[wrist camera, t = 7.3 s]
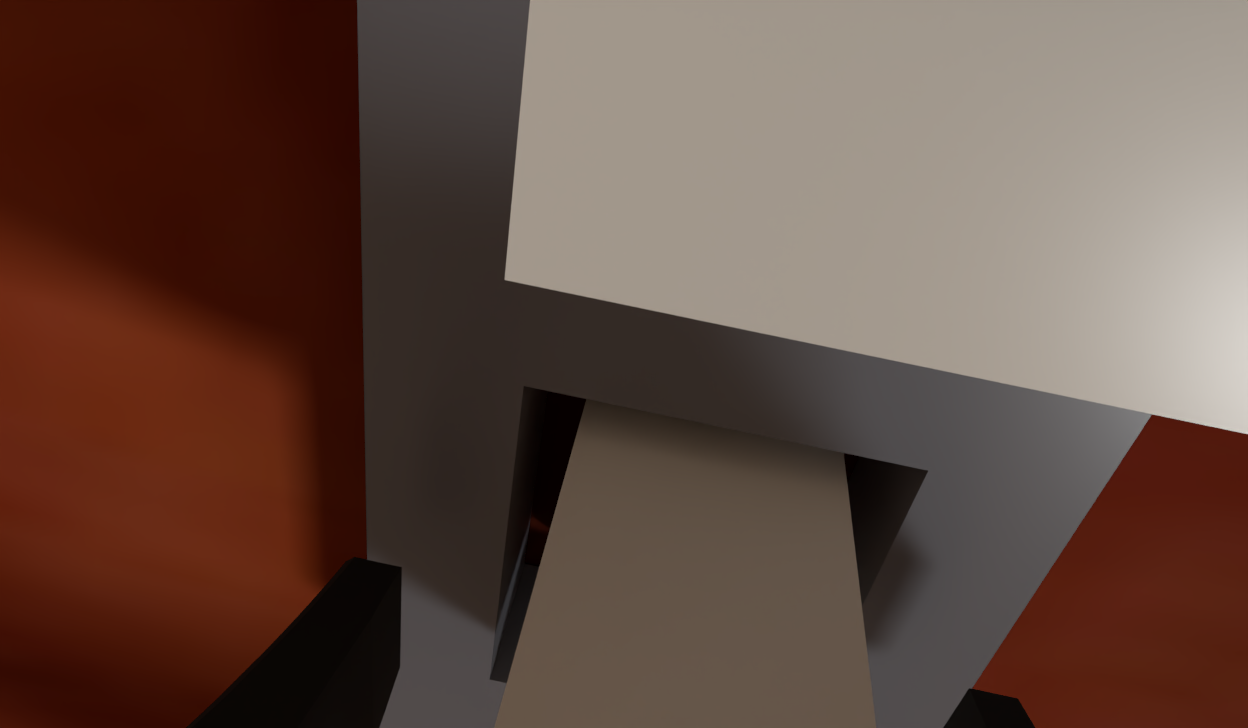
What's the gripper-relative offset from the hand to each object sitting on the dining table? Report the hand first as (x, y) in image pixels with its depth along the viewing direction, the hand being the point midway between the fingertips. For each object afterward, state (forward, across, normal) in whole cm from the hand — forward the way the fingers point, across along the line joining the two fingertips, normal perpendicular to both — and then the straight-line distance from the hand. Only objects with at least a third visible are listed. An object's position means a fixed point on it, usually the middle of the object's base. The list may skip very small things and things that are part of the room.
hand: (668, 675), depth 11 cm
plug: (+4, 0, 0) cm, 4 cm away
